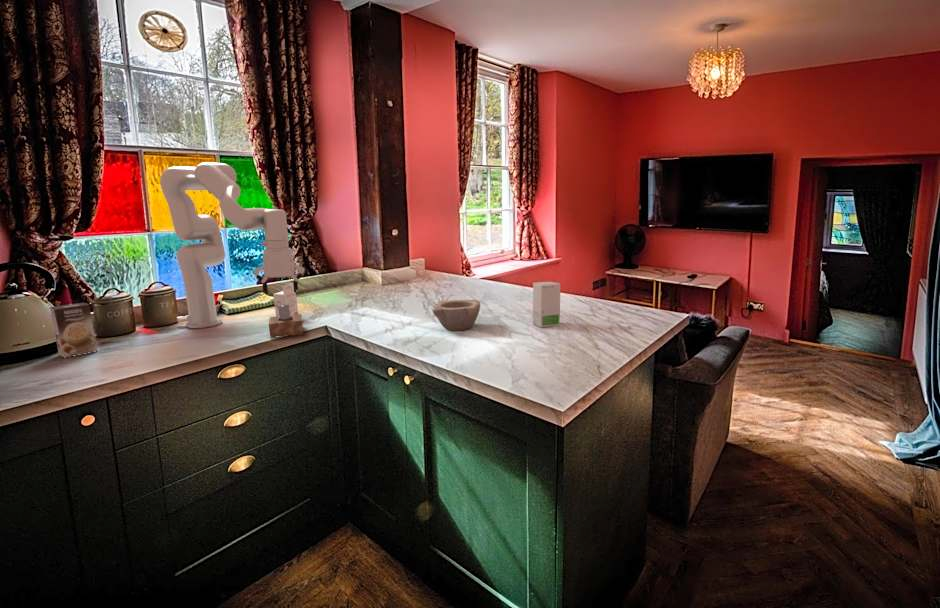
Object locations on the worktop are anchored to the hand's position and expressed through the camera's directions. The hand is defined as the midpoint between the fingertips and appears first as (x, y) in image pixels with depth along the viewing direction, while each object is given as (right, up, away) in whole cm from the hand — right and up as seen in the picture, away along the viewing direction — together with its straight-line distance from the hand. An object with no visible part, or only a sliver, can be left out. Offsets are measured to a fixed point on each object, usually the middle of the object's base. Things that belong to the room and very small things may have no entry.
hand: (281, 292), depth 178 cm
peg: (+1, -14, +3) cm, 15 cm away
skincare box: (+96, -12, +4) cm, 97 cm away
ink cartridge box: (-5, -11, +21) cm, 24 cm away
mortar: (+63, -13, +3) cm, 65 cm away
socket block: (+1, -14, +3) cm, 15 cm away
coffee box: (-60, -21, -16) cm, 65 cm away
